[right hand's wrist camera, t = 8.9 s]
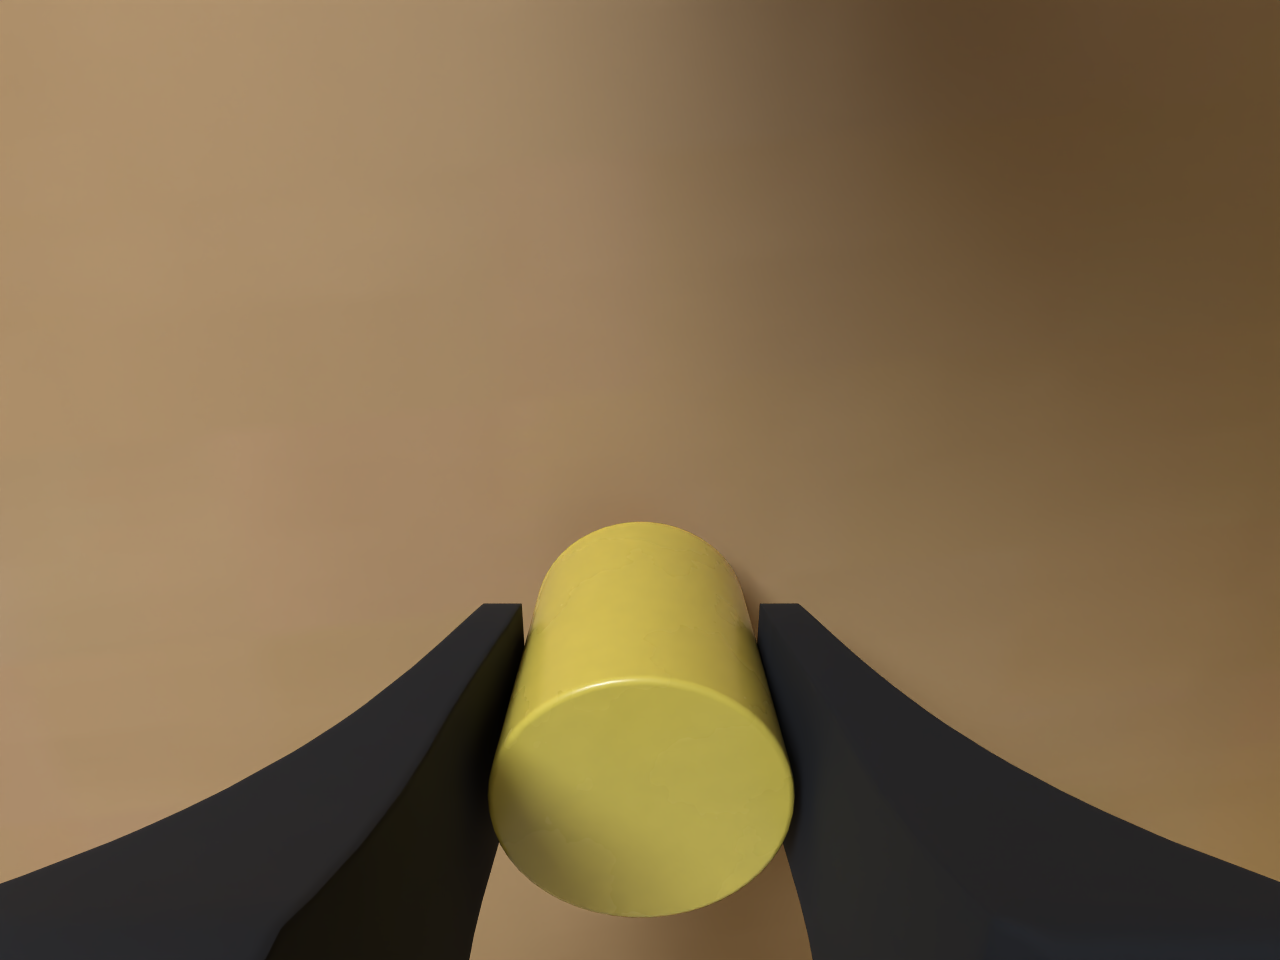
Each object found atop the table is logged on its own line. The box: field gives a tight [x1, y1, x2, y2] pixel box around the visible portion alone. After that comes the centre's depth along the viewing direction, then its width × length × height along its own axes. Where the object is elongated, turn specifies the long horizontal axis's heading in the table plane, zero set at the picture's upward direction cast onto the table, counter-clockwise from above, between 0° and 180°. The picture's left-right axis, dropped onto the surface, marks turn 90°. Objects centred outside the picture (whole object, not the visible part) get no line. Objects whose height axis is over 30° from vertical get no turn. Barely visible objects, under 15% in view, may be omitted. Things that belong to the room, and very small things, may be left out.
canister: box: [487, 522, 795, 917], centre depth 11 cm, size 4×4×4 cm
